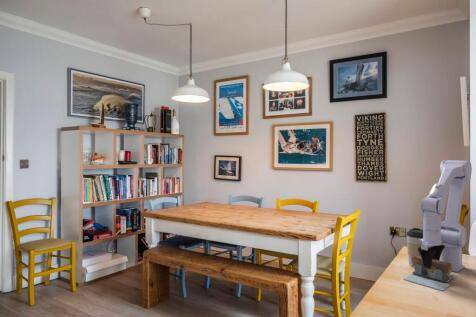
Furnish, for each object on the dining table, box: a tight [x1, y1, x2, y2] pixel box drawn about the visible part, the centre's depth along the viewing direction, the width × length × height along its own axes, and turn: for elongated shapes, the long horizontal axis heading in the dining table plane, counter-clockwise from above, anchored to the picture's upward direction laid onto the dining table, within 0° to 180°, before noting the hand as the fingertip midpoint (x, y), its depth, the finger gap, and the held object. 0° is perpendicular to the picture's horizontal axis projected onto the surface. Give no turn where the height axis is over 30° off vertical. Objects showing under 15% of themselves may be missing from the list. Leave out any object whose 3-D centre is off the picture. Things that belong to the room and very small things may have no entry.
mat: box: [403, 273, 451, 292], centre depth 118 cm, size 7×13×1 cm, turn 41°
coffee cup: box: [406, 227, 423, 269], centre depth 136 cm, size 9×9×15 cm
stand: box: [411, 263, 451, 284], centre depth 124 cm, size 6×11×4 cm, turn 41°
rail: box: [412, 255, 453, 276], centre depth 124 cm, size 3×13×3 cm, turn 41°
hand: (431, 265), depth 124 cm, fingers open, 7 cm apart
